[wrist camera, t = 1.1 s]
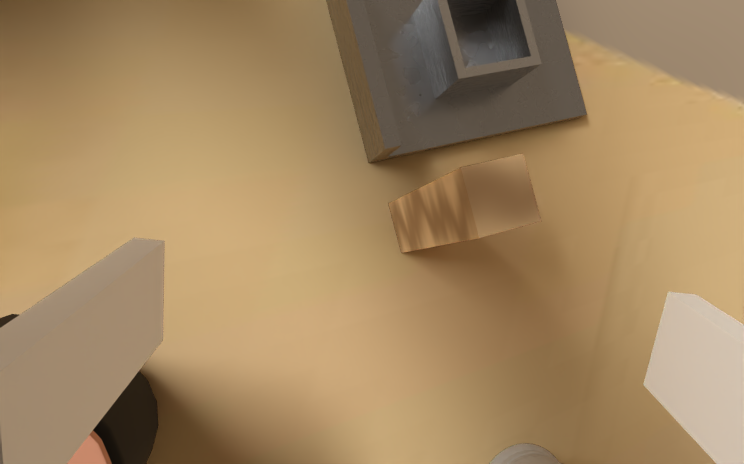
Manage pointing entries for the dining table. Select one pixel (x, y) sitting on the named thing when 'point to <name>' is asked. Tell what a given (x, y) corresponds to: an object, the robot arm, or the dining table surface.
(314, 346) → the dining table surface
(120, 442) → the coffee jar
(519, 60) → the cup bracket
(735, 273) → the dining table surface
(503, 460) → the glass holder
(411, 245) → the wooden block
